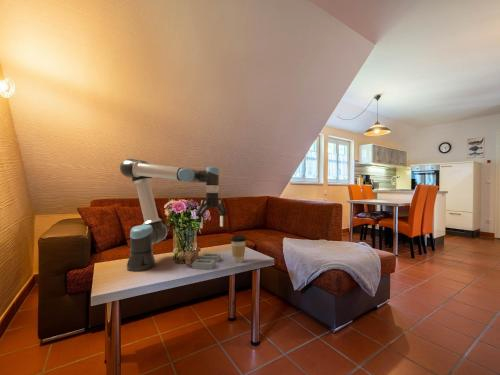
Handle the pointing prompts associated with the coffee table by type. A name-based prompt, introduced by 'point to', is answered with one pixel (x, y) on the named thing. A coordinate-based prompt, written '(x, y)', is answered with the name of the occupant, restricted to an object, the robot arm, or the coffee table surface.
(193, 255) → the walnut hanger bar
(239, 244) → the coffee cup
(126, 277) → the coffee table surface
